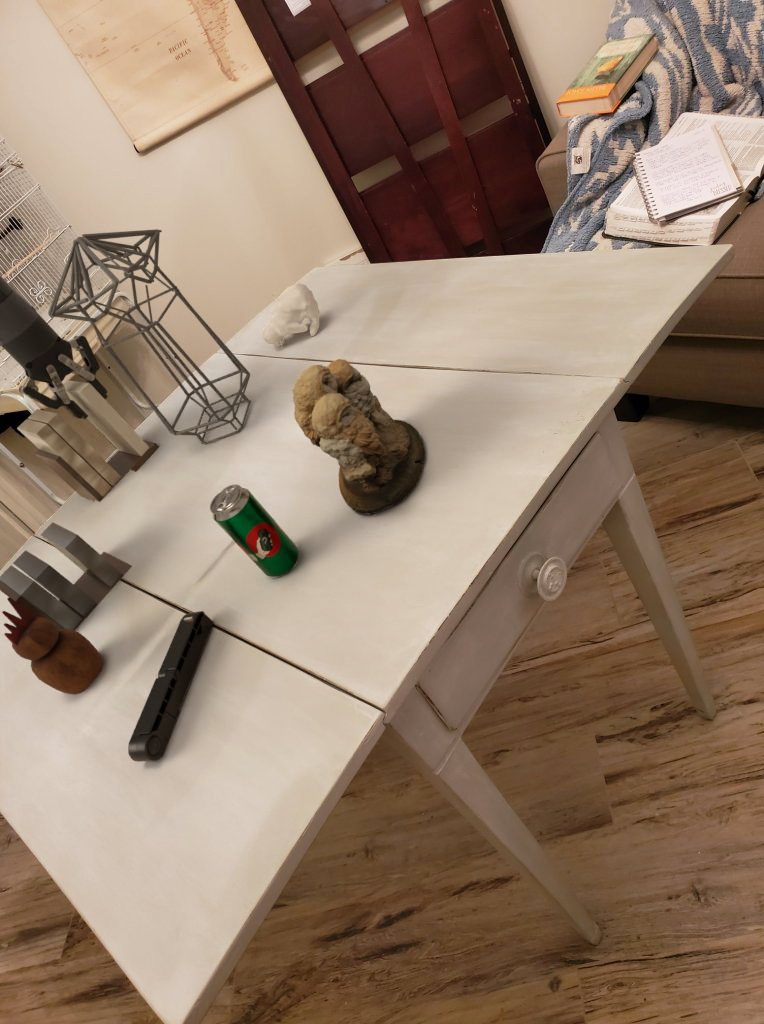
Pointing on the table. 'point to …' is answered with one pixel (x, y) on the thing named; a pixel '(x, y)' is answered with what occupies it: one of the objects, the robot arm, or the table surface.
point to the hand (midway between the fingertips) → (94, 407)
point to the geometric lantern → (80, 274)
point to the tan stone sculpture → (358, 436)
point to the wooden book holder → (78, 456)
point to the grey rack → (63, 580)
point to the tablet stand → (169, 688)
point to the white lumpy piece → (292, 314)
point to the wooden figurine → (53, 651)
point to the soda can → (254, 530)
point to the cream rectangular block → (105, 418)
